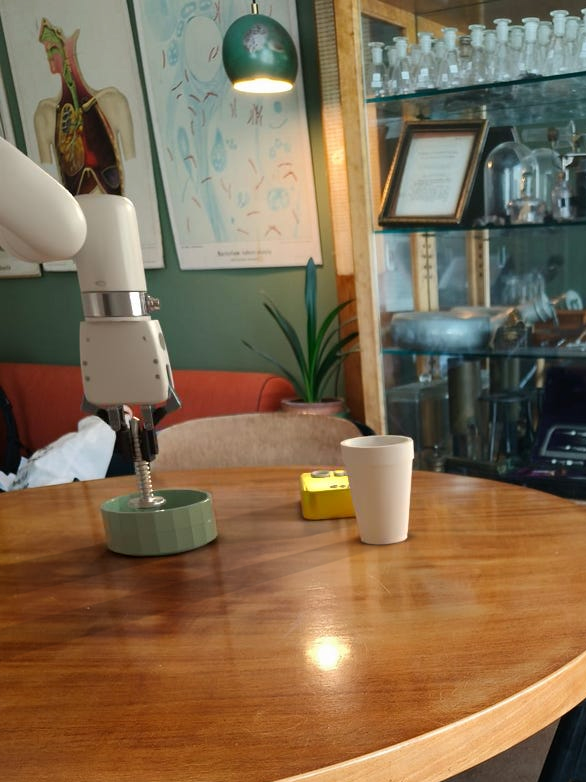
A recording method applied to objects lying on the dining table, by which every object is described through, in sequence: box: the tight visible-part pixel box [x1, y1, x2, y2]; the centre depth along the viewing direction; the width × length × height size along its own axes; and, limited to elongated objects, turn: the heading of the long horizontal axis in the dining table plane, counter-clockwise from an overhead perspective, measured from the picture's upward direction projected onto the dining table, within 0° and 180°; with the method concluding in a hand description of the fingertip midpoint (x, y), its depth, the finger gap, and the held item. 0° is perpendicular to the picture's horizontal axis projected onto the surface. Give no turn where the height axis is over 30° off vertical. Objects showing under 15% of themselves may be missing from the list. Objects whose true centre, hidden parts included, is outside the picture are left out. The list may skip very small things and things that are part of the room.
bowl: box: [99, 488, 219, 557], centre depth 120 cm, size 14×14×6 cm
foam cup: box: [340, 434, 415, 545], centre depth 117 cm, size 10×9×13 cm
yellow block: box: [298, 469, 356, 521], centre depth 137 cm, size 15×15×5 cm
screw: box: [127, 416, 167, 512], centre depth 114 cm, size 13×5×5 cm
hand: (140, 459), depth 114 cm, fingers closed on screw, 2 cm apart
